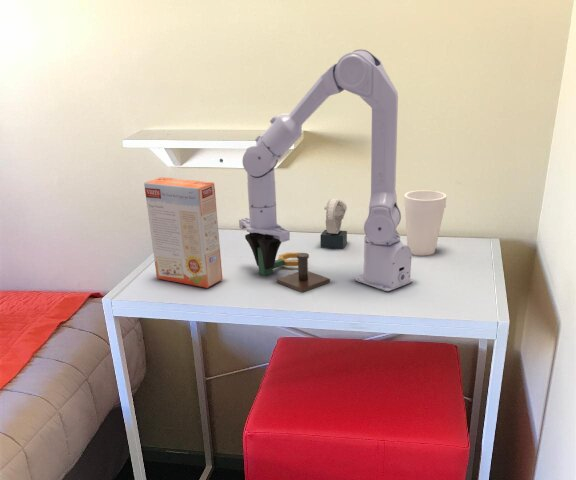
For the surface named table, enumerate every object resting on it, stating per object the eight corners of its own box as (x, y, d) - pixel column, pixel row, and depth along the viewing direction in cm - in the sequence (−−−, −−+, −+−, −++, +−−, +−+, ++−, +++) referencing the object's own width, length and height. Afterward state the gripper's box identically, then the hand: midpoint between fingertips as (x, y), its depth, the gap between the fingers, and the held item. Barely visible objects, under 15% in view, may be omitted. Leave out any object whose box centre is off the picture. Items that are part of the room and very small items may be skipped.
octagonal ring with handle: (293, 258, 154) (293, 232, 151) (312, 264, 150) (312, 238, 147) (252, 271, 147) (250, 245, 144) (270, 278, 143) (269, 251, 140)
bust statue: (348, 241, 164) (349, 196, 158) (341, 251, 157) (341, 204, 152) (326, 239, 165) (326, 195, 160) (318, 249, 159) (318, 203, 153)
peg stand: (330, 282, 140) (330, 254, 137) (302, 292, 135) (301, 264, 132) (304, 273, 145) (303, 246, 142) (276, 282, 141) (275, 254, 138)
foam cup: (442, 258, 151) (447, 200, 144) (400, 257, 152) (404, 200, 146) (440, 245, 159) (445, 190, 152) (401, 244, 160) (404, 189, 154)
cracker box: (224, 280, 143) (215, 181, 132) (207, 289, 138) (197, 188, 128) (173, 270, 149) (161, 175, 139) (155, 279, 145) (142, 181, 134)
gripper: (226, 202, 141) (230, 263, 147) (270, 214, 131) (272, 279, 138) (252, 195, 145) (255, 255, 151) (296, 207, 135) (298, 271, 142)
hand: (265, 266), depth 145 cm, fingers closed on octagonal ring with handle, 2 cm apart
